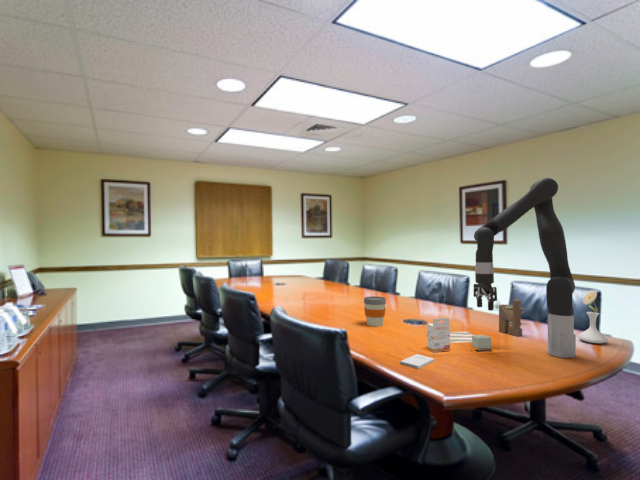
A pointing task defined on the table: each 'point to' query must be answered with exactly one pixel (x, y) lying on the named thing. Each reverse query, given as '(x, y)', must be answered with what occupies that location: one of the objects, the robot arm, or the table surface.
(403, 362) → the external hard drive
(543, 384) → the table surface
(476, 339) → the block
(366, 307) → the reusable coffee cup
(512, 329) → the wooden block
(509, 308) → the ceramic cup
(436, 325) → the ink cartridge box
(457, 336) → the birch board
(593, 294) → the flower in vase
